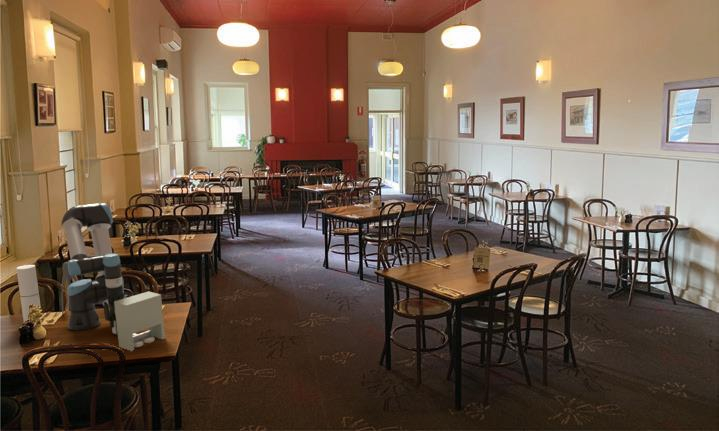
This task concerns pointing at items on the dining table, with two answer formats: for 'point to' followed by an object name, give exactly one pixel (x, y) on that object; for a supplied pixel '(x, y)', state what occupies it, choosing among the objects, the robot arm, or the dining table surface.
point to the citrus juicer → (67, 277)
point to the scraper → (137, 336)
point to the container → (28, 288)
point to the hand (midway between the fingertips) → (119, 331)
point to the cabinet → (139, 317)
